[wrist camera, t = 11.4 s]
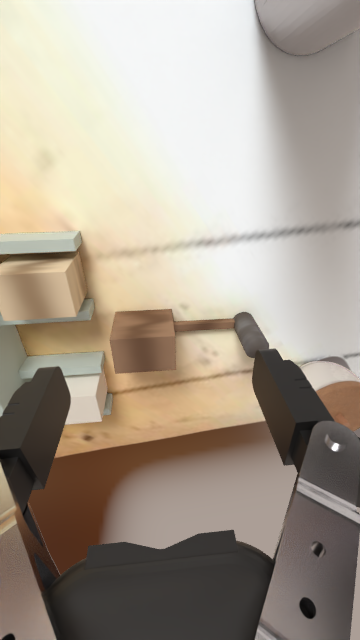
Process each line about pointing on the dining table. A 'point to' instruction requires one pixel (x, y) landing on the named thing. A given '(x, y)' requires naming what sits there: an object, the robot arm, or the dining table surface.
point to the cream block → (86, 397)
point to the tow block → (168, 338)
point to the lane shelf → (4, 341)
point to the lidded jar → (336, 391)
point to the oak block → (41, 286)
